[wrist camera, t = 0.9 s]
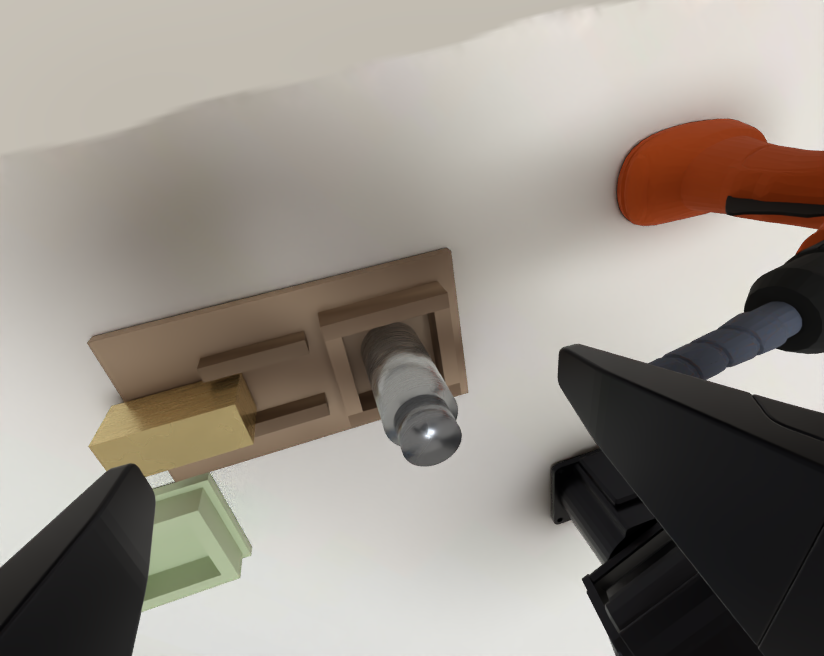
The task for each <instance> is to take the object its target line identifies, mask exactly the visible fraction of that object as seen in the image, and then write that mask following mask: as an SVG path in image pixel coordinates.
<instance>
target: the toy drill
mask: <svg viewBox="0 0 824 656" xmlns="http://www.w3.org/2000/svg"><path fill="white" fill-rule="evenodd" d="M617 199H618V204H619V208H620V210H621V212H622V214H623V215H624V216H625V217H626V218H627V219H628V220H629V221H631V222H632V223H633V224H636V225H641V226H650V225H658V224H663V223H667V222H672V221H677V220H681V219H685V218H689V217H694V216H698V215H702V214H706V213H709V212H714V213H723V214H727V215H731V216H734V217H740V218H747V219H753V220H759V221H765V222H772V223H780V224H787V225H794V226H801V227H807V228H813V229H818V230H817V232H816V233H814V234H812V235H811V236H809V237H808V238H807V239H806V240H805V241H804V242H803V243H802V244H801V246H800V248H799V249H798V251H797V253H796V255H795V256H794V257H792V258H791V259H790V260H788V261H787V262H786V263H785V264H784V265H782V266H780V267H778V268H776V269H774V270H772V271H770V272H768V273H766V274H764V275H762V276H761V277H760V278H758V279H757V280H756V282H755V283H754V284H753V285H752V287H751V289H750V292H749V294H748V297H747V300H746V303H745V307H744V313H741V314H738V315H737V316H735V317H734V318H732V319H731V320H729V321H728V322H726V323H725V324H723V325H722V326H721V327H719V328H718V329H717V330H715V331H712V332H710V333H708V334H706V335H704V336H702V337H700V338H698V339H696V340H694V341H692V342H691V343H690V344H686V345H684V346H682V347H680V348H678V349H676V350H674V351H672V352H669V353H667V354H665V355H664V356H663V357H662V358H658V359H656V360H654V361H652V362H650V363H648V364H651V365H654V366H658V367H661V368H665V369H668V370H672V371H675V372H679V373H682V374H686V375H689V376H692V377H696V378H699V379H703V380H707V379H709V378H711V377H713V376H715V375H717V374H719V373H720V372H722V371H723V370H725V369H726V367H732V366H735V365H738V364H740V363H742V362H745V361H747V360H750V359H752V358H754V357H755V356H756V355H761V354H763V353H765V352H768V351H770V350H773V349H775V348H776V349H779V350H783V351H788V352H796V353H805V354H818V353H823V352H824V151H813V150H803V149H797V148H791V147H784V146H778V145H774V144H770V143H767V140H766V139H765V137H764V135H763V134H762V133H761V132H760V131H759V130H758V129H756V128H754V127H752V126H750V125H747V124H745V123H742V122H740V121H737V120H733V119H714V120H704V121H697V122H690V123H686V124H682V125H678V126H675V127H671V128H668V129H665V130H663V131H660V132H658V133H655V134H653V135H651V136H649V137H648V138H646V139H644V140H643V141H641V142H640V143H639V144H638V145H637V146H636V147H634V148H633V149H632V150H631V152H630V153H629V154H628V156H627V157H626V158H625V161H624V163H623V165H622V167H621V170H620V174H619V178H618V186H617Z"/></svg>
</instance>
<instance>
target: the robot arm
mask: <svg viewBox="0 0 824 656" xmlns="http://www.w3.org/2000/svg"><path fill="white" fill-rule="evenodd" d="M558 382H559V385H560V388H561V389H562V391H563V392H564V394H565V396H566V397H567V399H568V400H569V402H570V404H571V405H572V407H573V408H574V410H575V411H576V413H577V415H578V416H579V418H580V419H581V421H582V423H583V424H584V426H585V427H586V429H587V430H588V432H589V434H590V435H591V436H592V438H593V439H594V441H595V442H596V444H597V445H598V446H599V448H600V449H598V450H596V451H593V452H590V453H587V454H584V455H581V456H578V457H575V458H572V459H569V460H566V461H564V462H561V463H558V464H556V465H554V466H553V468H552V520H553V521H554V523H555V524H561V523H564V522H566V521H569V520H572V522H573V523H574V525H575V526H576V527H577V529H578V530H579V532H580V533H581V535H582V536H583V537H584V539H585V540H586V542H587V543H588V545H589V546H590V548H591V549H592V550H593V552H594V553H595V555H596V556H597V558H598V559H599V560H600V562H601V563H602V565H601V566H600V567H599V568H598V569H596V570H595V571H594V572H592V573H591V574H590V575H589V574H587V575H586V576H585V577H583V578H582V581H583V583H584V585H585V587H586V589H587V594H588V596H589V598H590V600H591V602H592V604H593V606H594V608H595V610H596V612H597V614H598V616H599V618H600V620H601V622H602V624H603V626H604V628H605V630H606V632H607V634H608V636H609V639H610V641H611V644H612V647H613V650H614V652H615V655H616V656H824V413H821V412H817V411H813V410H809V409H805V408H802V407H798V406H794V405H791V404H787V403H783V402H780V401H776V400H773V399H769V398H766V397H762V396H759V395H755V394H754V395H751V394H750V393H748V392H745V391H741V390H738V389H734V388H731V387H727V386H724V385H720V384H717V383H713V382H710V381H706V380H703V379H699V378H696V377H692V376H689V375H686V374H682V373H679V372H675V371H672V370H668V369H665V368H661V367H658V366H654V365H651V364H647V363H644V362H640V361H637V360H633V359H630V358H626V357H623V356H619V355H616V354H612V353H609V352H606V351H602V350H599V349H595V348H592V347H588V346H585V345H581V344H574V345H570V346H566V347H563V348H562V349H561V350H560V351H559V360H558ZM155 506H156V498H155V494H154V491H153V489H152V488H151V486H150V485H149V483H148V481H147V480H146V478H145V476H144V475H143V473H142V472H141V470H140V468H139V467H138V466H137V465H136V464H133V463H129V464H125V465H122V466H118V467H114V468H111V469H109V470H108V471H106V472H105V473H104V474H103V475H102V476H101V477H100V478H99V479H98V480H96V481H95V482H94V483H93V484H92V485H91V486H90V487H89V488H88V489H87V490H85V491H84V492H83V493H82V494H81V495H80V496H79V497H78V498H77V499H76V500H74V501H73V502H72V503H71V504H70V505H69V506H68V507H67V508H66V509H64V510H63V511H62V512H61V513H60V514H59V515H58V516H57V517H56V518H55V519H53V520H52V521H51V522H50V523H49V524H48V525H47V526H46V527H45V528H44V529H42V530H41V531H40V532H39V533H38V534H37V535H36V536H35V537H34V538H32V539H31V540H30V541H29V542H28V543H27V544H26V545H25V546H24V547H23V548H21V549H20V550H19V551H18V552H17V553H16V554H15V555H14V556H13V557H12V558H10V559H9V560H8V561H7V562H6V563H5V564H4V565H3V566H2V567H0V656H132V652H133V648H134V643H135V639H136V634H137V629H138V625H139V620H140V615H141V611H142V606H143V602H144V597H145V592H146V587H147V581H148V574H149V567H150V556H151V546H152V536H153V526H154V516H155Z"/></svg>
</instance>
